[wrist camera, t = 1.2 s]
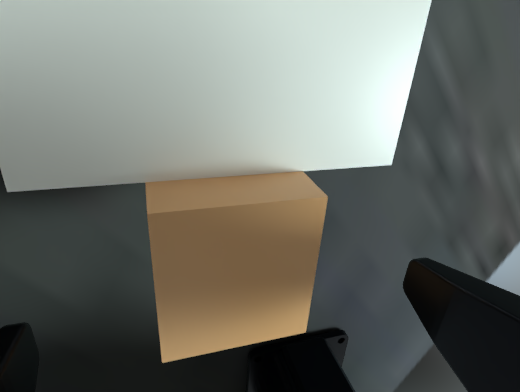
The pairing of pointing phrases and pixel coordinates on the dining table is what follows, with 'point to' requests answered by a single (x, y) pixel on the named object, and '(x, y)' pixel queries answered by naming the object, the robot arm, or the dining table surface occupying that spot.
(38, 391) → the dining table surface
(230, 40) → the lid
